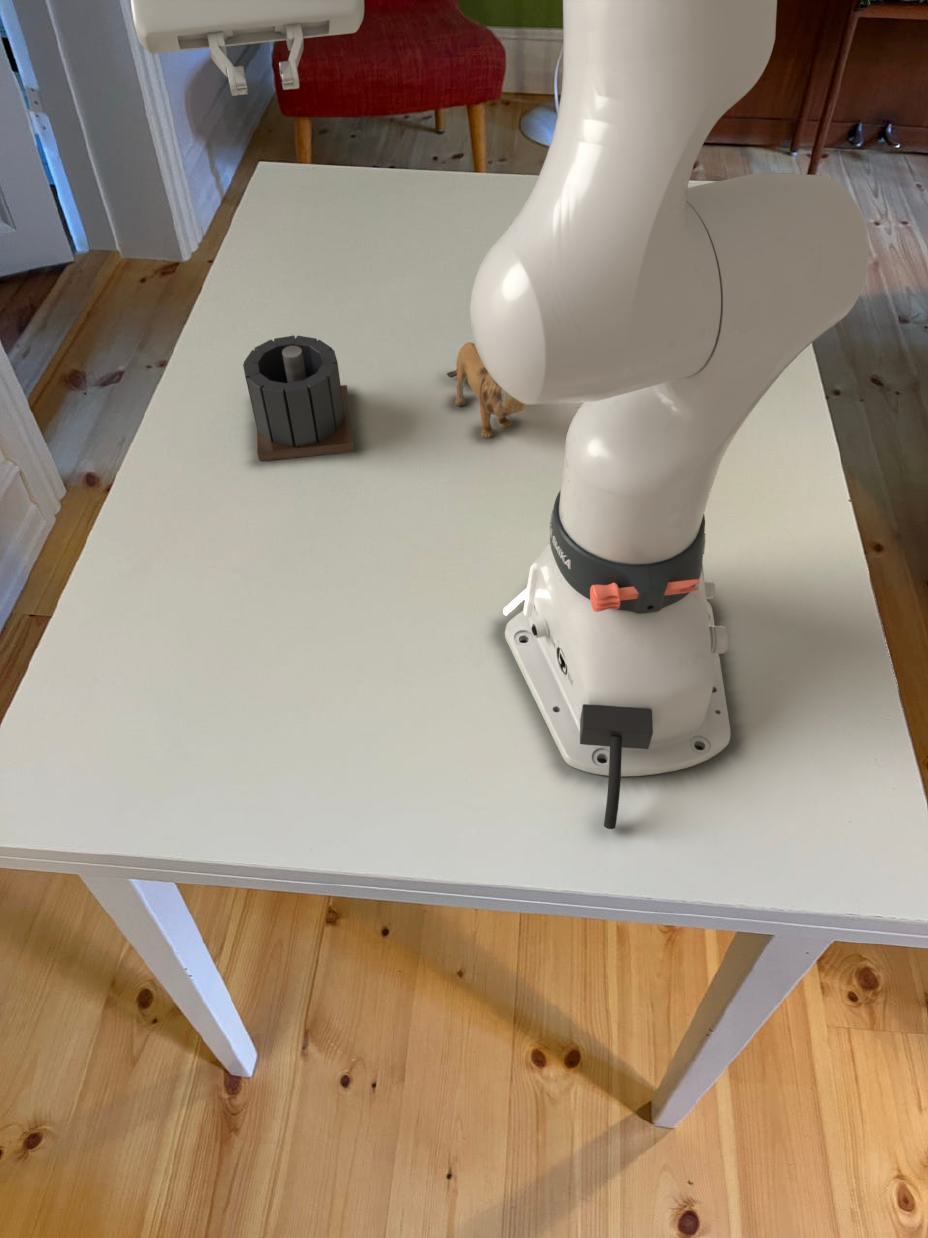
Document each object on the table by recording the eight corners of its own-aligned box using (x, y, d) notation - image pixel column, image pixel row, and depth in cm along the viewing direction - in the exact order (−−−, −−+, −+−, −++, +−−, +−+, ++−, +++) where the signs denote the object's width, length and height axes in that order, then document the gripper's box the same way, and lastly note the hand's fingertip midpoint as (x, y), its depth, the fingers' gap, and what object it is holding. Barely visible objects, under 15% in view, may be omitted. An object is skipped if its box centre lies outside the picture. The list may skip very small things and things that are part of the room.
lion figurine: (542, 439, 100) (548, 369, 93) (502, 458, 98) (504, 388, 91) (465, 370, 107) (465, 300, 100) (426, 386, 105) (423, 317, 98)
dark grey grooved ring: (350, 437, 98) (343, 382, 93) (261, 452, 97) (249, 398, 91) (335, 384, 104) (328, 329, 98) (251, 397, 102) (239, 343, 97)
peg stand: (354, 451, 99) (344, 376, 91) (259, 461, 98) (241, 386, 90) (347, 393, 105) (338, 318, 97) (258, 401, 104) (242, 327, 96)
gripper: (104, -89, 77) (141, 85, 79) (347, -109, 80) (378, 59, 82) (118, -43, 83) (153, 118, 85) (344, -63, 86) (373, 92, 88)
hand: (265, 89), depth 83 cm, fingers open, 3 cm apart
